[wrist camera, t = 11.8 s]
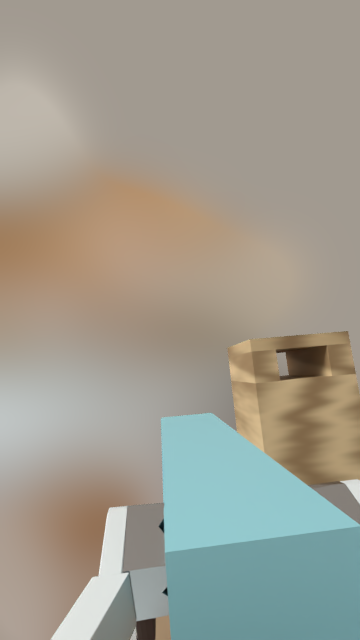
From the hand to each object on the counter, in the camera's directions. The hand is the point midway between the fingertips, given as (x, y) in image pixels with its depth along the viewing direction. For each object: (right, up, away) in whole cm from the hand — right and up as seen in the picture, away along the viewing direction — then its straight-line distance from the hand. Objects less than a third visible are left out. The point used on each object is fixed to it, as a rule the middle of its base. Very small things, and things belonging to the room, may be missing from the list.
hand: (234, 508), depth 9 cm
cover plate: (0, -3, +6) cm, 6 cm away
